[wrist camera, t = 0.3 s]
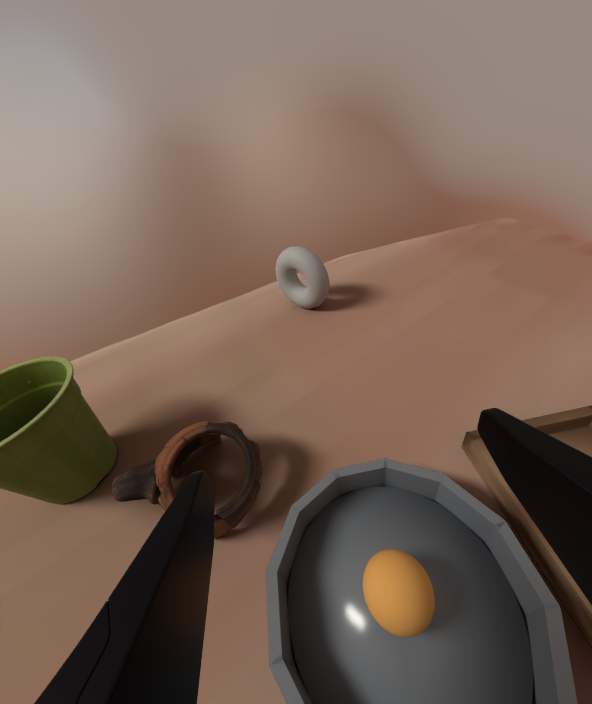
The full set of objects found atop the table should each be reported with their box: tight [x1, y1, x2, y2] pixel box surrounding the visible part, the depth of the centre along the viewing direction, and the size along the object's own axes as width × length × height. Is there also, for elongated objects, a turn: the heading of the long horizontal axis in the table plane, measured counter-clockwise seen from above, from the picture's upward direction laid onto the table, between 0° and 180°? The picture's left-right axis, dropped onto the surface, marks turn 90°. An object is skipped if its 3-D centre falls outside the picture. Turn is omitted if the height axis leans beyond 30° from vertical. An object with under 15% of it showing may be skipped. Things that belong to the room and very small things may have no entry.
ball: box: [363, 549, 435, 637], centre depth 17 cm, size 4×4×4 cm
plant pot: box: [0, 357, 117, 504], centre depth 27 cm, size 12×12×11 cm
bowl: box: [266, 458, 578, 704], centre depth 18 cm, size 15×15×3 cm
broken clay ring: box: [112, 421, 262, 538], centre depth 25 cm, size 12×10×8 cm
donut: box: [276, 246, 329, 309], centre depth 45 cm, size 10×4×10 cm, turn 48°
